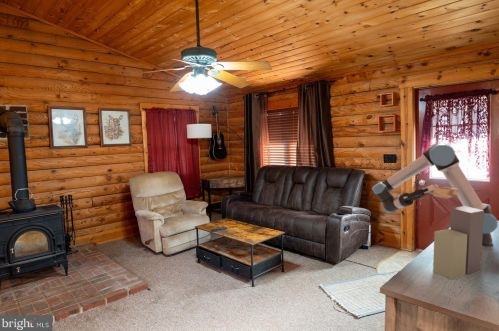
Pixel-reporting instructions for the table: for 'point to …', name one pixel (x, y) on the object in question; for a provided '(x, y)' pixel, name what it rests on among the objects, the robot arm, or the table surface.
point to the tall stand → (470, 234)
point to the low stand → (450, 253)
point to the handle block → (444, 192)
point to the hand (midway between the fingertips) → (435, 186)
